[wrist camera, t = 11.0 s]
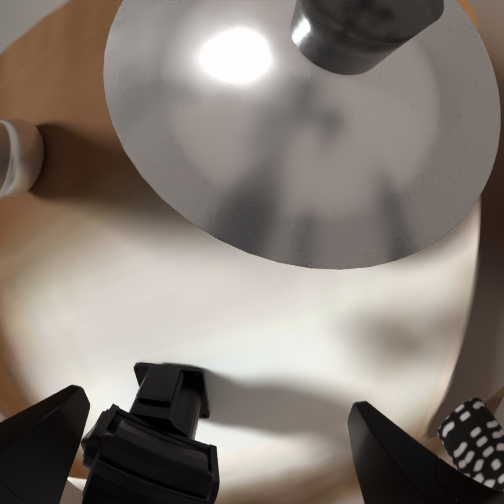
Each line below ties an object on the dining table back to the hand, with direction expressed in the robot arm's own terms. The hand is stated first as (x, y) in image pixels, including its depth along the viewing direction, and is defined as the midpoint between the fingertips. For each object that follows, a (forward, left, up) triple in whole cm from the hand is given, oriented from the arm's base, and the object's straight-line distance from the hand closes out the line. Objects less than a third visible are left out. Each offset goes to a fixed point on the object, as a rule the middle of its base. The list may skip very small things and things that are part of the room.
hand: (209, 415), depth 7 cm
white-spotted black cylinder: (-24, -32, -13) cm, 42 cm away
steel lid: (+13, -5, -6) cm, 15 cm away
